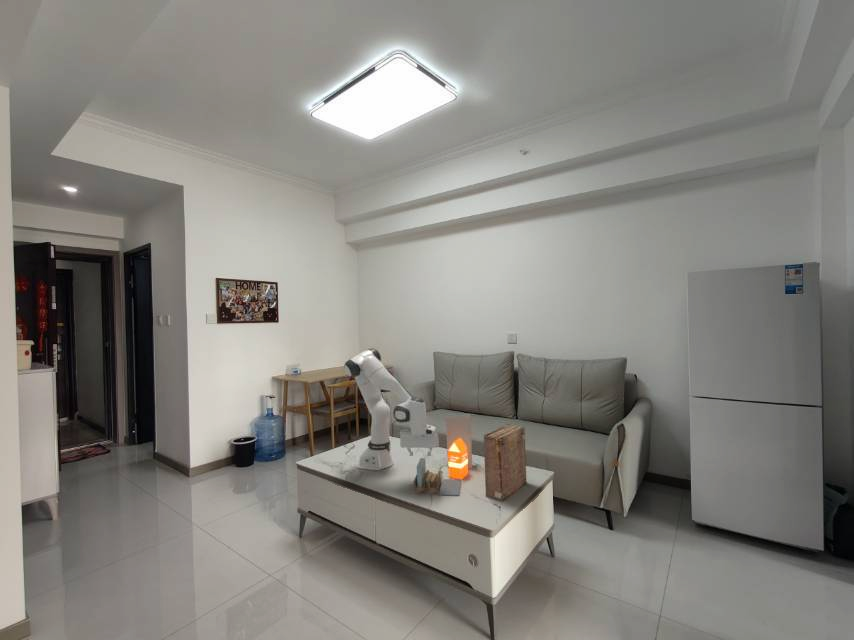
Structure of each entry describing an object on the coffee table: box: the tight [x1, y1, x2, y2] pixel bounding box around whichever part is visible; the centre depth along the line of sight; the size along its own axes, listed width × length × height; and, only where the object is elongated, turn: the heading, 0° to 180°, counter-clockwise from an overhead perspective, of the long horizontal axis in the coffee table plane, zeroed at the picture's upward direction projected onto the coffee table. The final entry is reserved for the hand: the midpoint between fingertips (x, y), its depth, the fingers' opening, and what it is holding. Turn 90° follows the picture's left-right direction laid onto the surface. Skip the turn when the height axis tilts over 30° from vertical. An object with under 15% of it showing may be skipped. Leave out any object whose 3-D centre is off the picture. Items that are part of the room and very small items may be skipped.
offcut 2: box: [431, 473, 438, 488], centre depth 204 cm, size 2×9×6 cm, turn 171°
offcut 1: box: [426, 471, 434, 487], centre depth 204 cm, size 2×10×6 cm, turn 171°
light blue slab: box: [416, 457, 427, 487], centre depth 205 cm, size 2×12×13 cm, turn 171°
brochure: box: [445, 413, 473, 469], centre depth 230 cm, size 14×6×30 cm, turn 84°
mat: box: [438, 478, 462, 497], centre depth 202 cm, size 10×18×1 cm, turn 171°
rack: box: [413, 469, 442, 495], centre depth 204 cm, size 12×16×6 cm
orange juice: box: [447, 438, 469, 480], centre depth 218 cm, size 8×9×20 cm
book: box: [483, 423, 527, 502], centre depth 198 cm, size 25×9×30 cm, turn 139°
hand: (420, 455), depth 204 cm, fingers open, 8 cm apart
